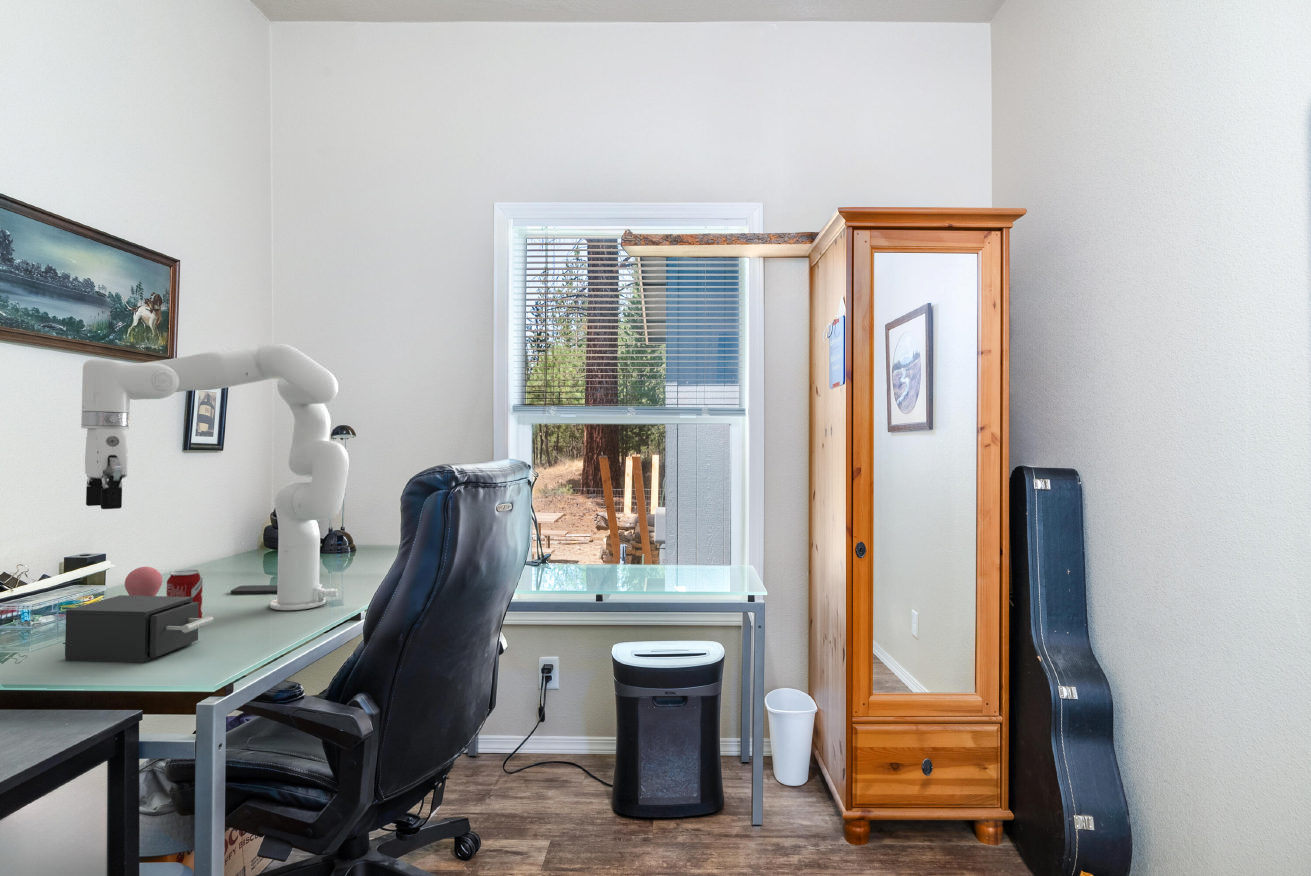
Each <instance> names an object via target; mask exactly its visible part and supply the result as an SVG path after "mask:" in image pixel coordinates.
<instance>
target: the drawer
mask: <svg viewBox="0 0 1311 876" xmlns="http://www.w3.org/2000/svg"><path fill="white" fill-rule="evenodd" d="M198 611H199V602H192V603H189V604H186V605H184V604H181V605H178V606H175V607H172V608H169V609H166V610H162V611H159V612H156V613H153V614H150V615H149V618H148V653H150V657H157V656H159V657H161V656H160V655H162V654H164V655H166V654H165V653H167V652H169V651H172V650H174V649H176V650H178V649H177V648H179V647H181V648H183V647H182V646H184V645H186V646H188V645H187V644H189V643H191V644H192V643H194V642H197V641H199V629H200V628H202V627H205V626H207V625H210V624H213V622H214V617H213V616H211V615H208V616H206V617H202V618H198ZM189 645H190V644H189ZM184 647H185V646H184ZM179 649H180V648H179ZM174 651H175V650H174ZM172 652H173V651H172ZM169 653H170V652H169ZM167 654H168V653H167ZM162 656H163V655H162ZM157 658H158V657H157Z"/></svg>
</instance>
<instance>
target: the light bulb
mask: <svg viewBox="0 0 1311 876" xmlns="http://www.w3.org/2000/svg"><path fill="white" fill-rule="evenodd" d="M162 585H163V576H162V574H161V572H160V571H159V570H158V569H156V568H154V567H152V566H140V567H137V568H135V569H133V570H132V571H130V572H129V573H128V574H127V576H126V577H125V580H124V588H125V591H126V593H127V594H128V596H157V594H158V593H159V591H160V588H161V587H162Z"/></svg>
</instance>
